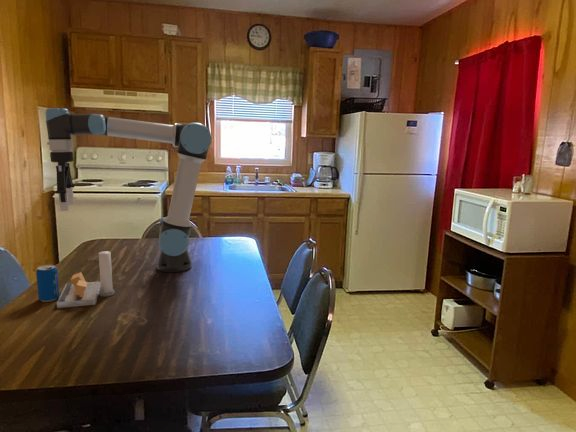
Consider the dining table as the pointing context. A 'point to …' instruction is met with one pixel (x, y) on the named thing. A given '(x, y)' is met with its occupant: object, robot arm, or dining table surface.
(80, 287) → the paddle
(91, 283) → the breaker plate
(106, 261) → the white rounded smooth part
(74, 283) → the paddle
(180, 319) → the dining table surface
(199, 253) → the dining table surface
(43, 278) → the beverage can
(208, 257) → the dining table surface
